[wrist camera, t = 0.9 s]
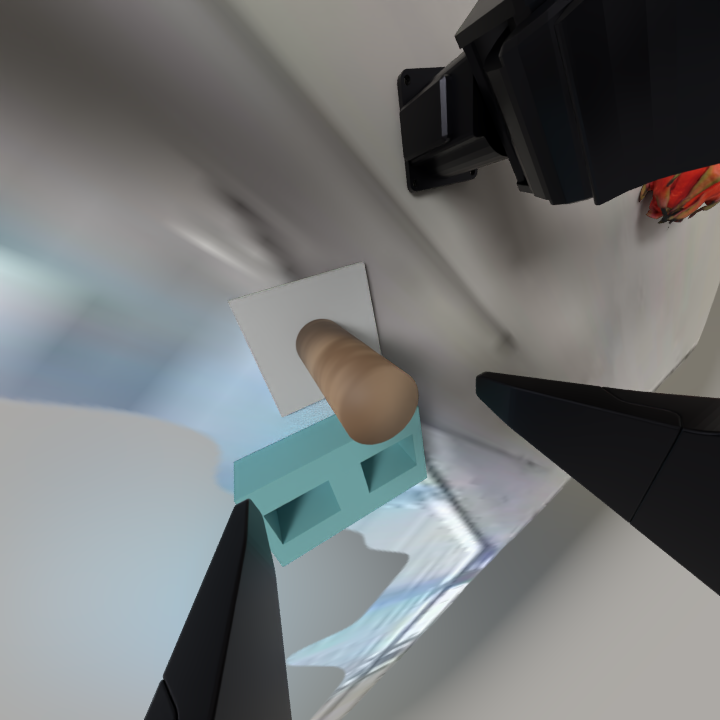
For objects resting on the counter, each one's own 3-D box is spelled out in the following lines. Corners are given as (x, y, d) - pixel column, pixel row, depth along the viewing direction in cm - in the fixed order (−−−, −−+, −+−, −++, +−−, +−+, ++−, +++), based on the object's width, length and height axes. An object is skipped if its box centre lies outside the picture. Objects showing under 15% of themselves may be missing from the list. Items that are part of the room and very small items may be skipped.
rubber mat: (361, 261, 20) (363, 261, 19) (382, 369, 24) (384, 371, 24) (228, 300, 17) (228, 302, 16) (281, 414, 22) (282, 417, 21)
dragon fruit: (672, 141, 33) (599, 222, 36) (737, 68, 25) (637, 178, 28) (751, 166, 30) (665, 252, 33) (851, 93, 22) (728, 213, 25)
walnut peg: (337, 311, 20) (414, 356, 12) (349, 355, 22) (421, 421, 13) (288, 328, 19) (333, 392, 10) (305, 373, 21) (354, 458, 12)
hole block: (394, 386, 26) (418, 406, 23) (405, 452, 31) (427, 477, 27) (233, 462, 21) (234, 501, 18) (276, 526, 26) (283, 567, 23)
